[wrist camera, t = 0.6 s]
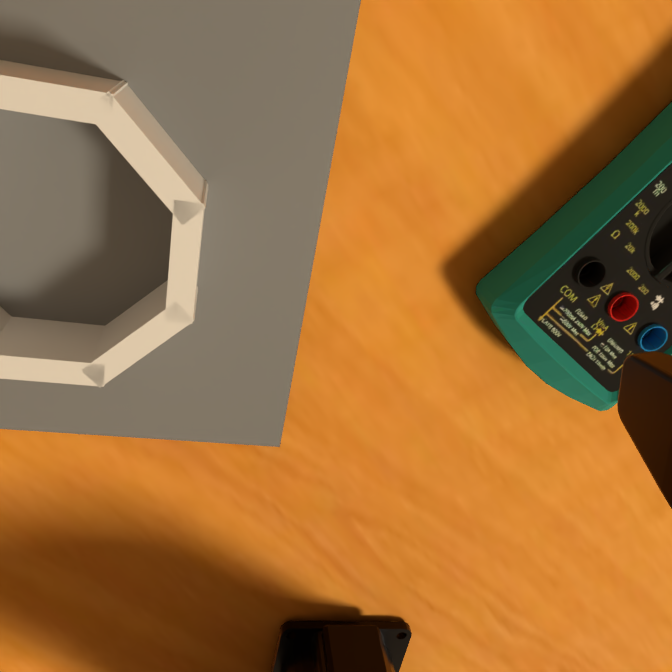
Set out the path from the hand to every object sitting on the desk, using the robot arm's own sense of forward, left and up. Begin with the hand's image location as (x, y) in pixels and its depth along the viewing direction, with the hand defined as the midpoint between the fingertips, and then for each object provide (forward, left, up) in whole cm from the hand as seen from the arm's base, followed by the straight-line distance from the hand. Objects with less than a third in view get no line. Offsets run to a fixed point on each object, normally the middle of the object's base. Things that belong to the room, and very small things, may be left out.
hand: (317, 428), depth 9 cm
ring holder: (-2, +6, -14) cm, 15 cm away
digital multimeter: (+1, -15, -15) cm, 21 cm away
